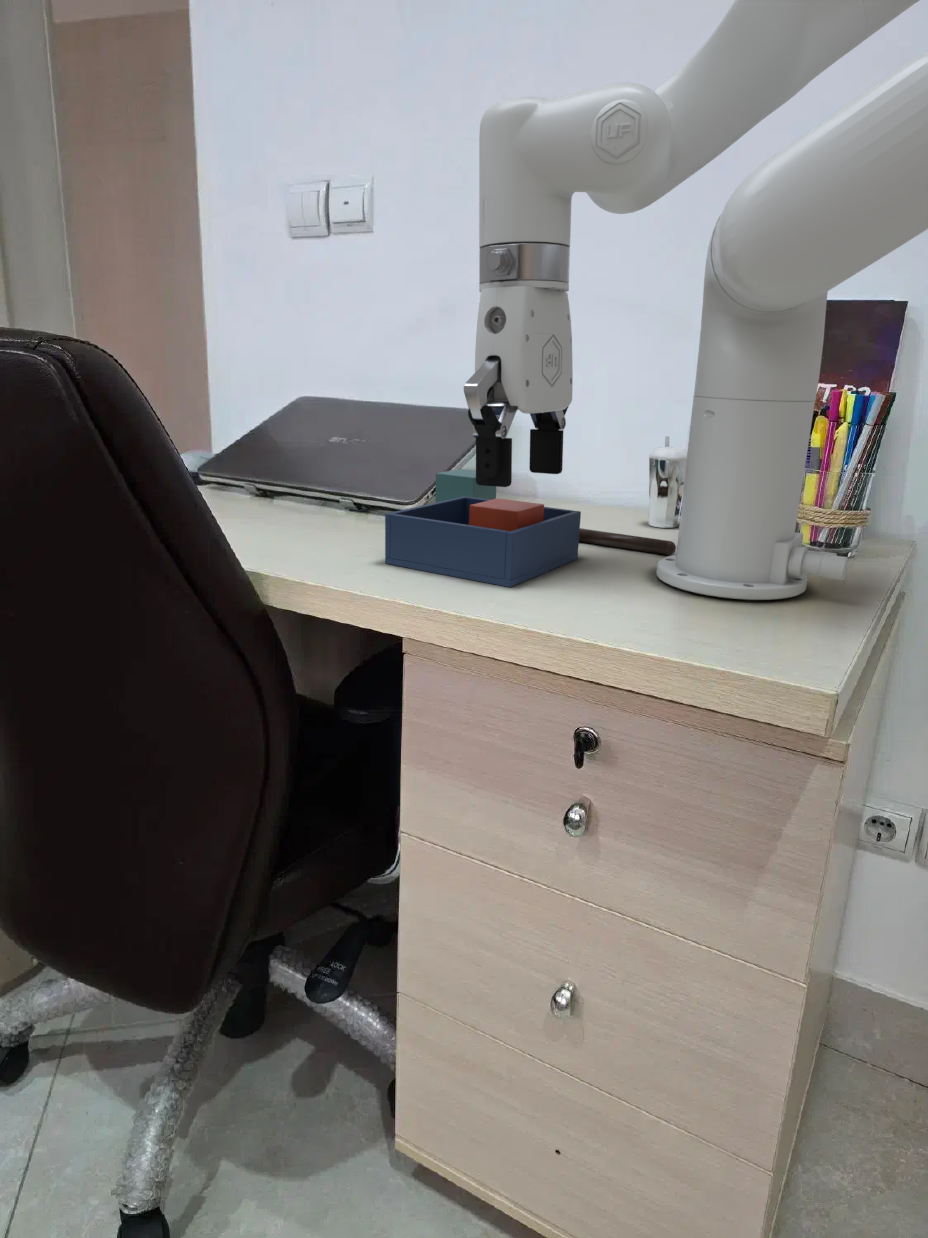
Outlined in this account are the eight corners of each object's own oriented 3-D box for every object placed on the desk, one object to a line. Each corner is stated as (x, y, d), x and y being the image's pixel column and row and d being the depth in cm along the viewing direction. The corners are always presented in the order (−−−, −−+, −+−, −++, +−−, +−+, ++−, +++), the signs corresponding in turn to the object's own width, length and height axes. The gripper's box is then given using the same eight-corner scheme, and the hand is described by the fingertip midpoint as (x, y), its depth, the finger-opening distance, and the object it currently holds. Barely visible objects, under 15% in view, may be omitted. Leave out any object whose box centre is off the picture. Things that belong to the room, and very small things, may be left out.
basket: (577, 558, 80) (581, 511, 78) (510, 587, 69) (512, 533, 68) (462, 539, 86) (463, 495, 85) (384, 563, 76) (384, 513, 74)
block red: (541, 557, 77) (544, 504, 76) (515, 567, 73) (518, 511, 72) (495, 549, 80) (497, 498, 78) (467, 559, 76) (469, 504, 74)
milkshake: (678, 521, 100) (687, 437, 97) (685, 530, 95) (694, 441, 92) (640, 519, 100) (647, 435, 97) (644, 528, 95) (653, 439, 92)
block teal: (495, 516, 95) (497, 473, 94) (472, 523, 91) (473, 477, 89) (458, 511, 98) (460, 468, 96) (434, 517, 94) (435, 473, 92)
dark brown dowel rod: (682, 551, 84) (683, 538, 83) (667, 559, 80) (668, 545, 80) (453, 518, 98) (454, 506, 97) (432, 523, 94) (432, 511, 94)
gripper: (513, 259, 60) (510, 494, 65) (606, 278, 74) (598, 471, 79) (428, 266, 64) (432, 488, 69) (532, 283, 78) (529, 466, 83)
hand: (520, 478), depth 74 cm, fingers open, 9 cm apart
